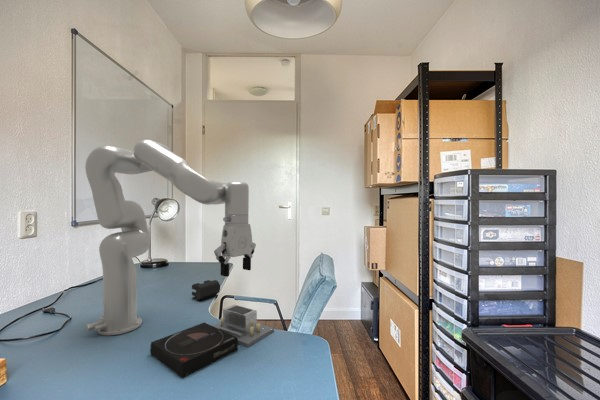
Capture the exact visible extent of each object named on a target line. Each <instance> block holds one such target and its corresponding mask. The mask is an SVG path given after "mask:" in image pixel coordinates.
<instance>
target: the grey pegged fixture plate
mask: <svg viewBox="0 0 600 400" xmlns="http://www.w3.org/2000/svg"><path fill="white" fill-rule="evenodd" d="M212 326H213V327H216V328H218V329H220V330H222V331H224V332H226V333H229V334H231V335H233V336H235V337H237V338H238V345H241V346H243V347H246V348H249V347H252V345H254V344H256V343H258V342H259V341H261V340H262V339H264V338H265V337H267V336H269V335H270V334H272V333H274V332H275V331H274V329H275V328H274V327H271V326H268V325H265V324H261V323H260V322H257V324H256V330H255V331H254V327H253V326H251V327H250V334H248V335H246V336H245V335H243V334H241V333H239V332H236V331H233V330H230V329H227V328H224V327H223V316H222V317H220V322H218V323H216V324H214V325H212ZM262 328H264V329H262ZM270 329H272V330H270Z"/></svg>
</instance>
